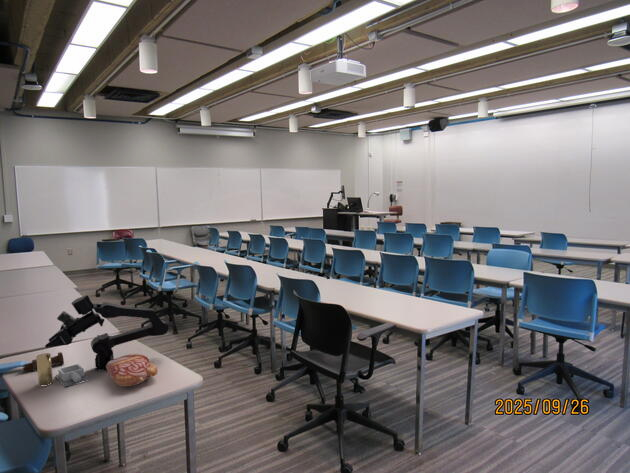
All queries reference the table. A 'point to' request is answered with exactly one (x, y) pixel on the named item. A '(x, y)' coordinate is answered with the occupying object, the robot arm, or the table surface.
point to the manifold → (71, 375)
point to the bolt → (54, 360)
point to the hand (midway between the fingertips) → (47, 343)
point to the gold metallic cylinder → (44, 369)
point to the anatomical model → (131, 369)
